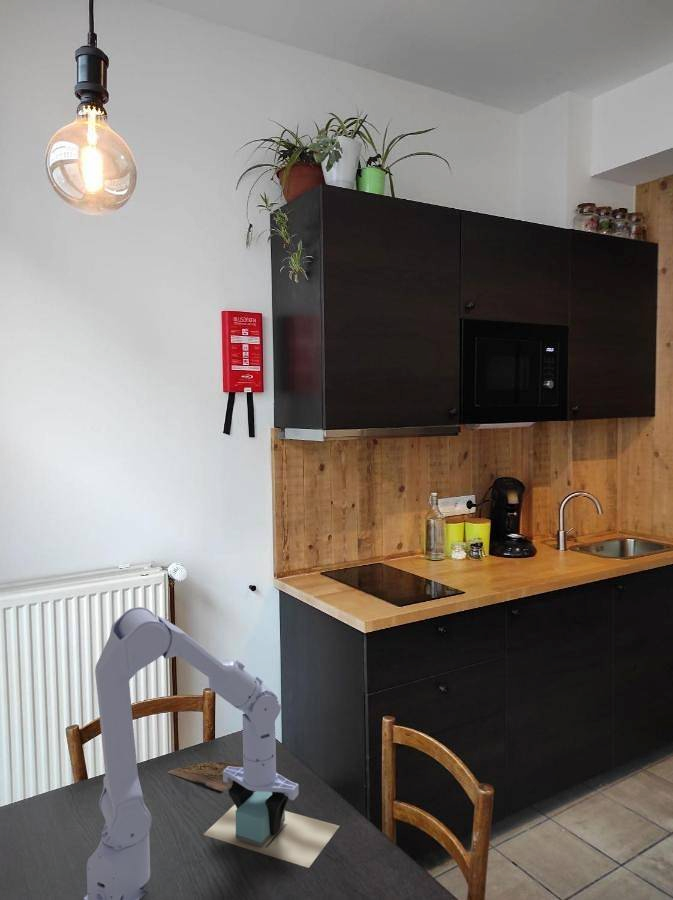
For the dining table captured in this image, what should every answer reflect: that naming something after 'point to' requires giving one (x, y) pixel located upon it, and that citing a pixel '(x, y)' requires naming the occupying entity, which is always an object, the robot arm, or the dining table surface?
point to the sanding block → (254, 819)
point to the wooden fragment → (206, 774)
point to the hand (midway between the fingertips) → (260, 827)
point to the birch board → (281, 837)
